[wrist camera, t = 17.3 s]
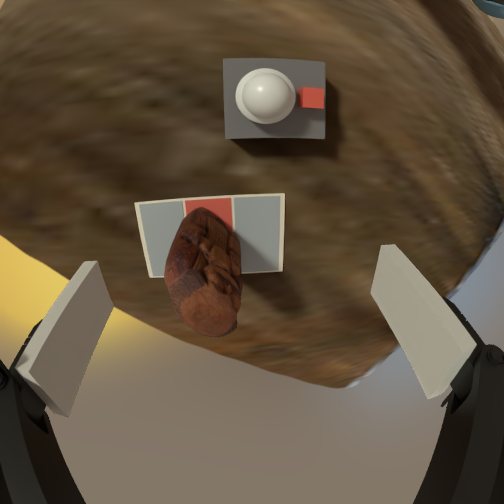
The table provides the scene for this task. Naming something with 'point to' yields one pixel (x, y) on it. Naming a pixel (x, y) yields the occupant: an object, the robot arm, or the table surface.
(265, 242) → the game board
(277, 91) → the dome
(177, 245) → the wooden figurine
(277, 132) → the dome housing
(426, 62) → the table surface
